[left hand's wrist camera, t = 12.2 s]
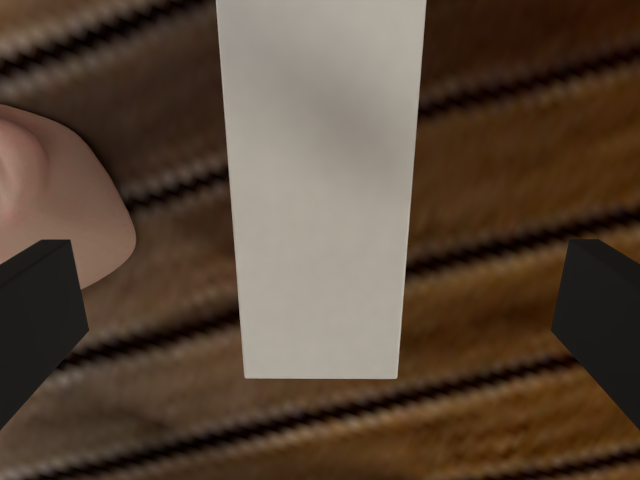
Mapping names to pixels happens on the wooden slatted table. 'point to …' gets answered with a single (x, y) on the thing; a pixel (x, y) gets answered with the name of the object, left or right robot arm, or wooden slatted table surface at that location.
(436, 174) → the wooden slatted table surface
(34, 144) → the anatomical model
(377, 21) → the post
